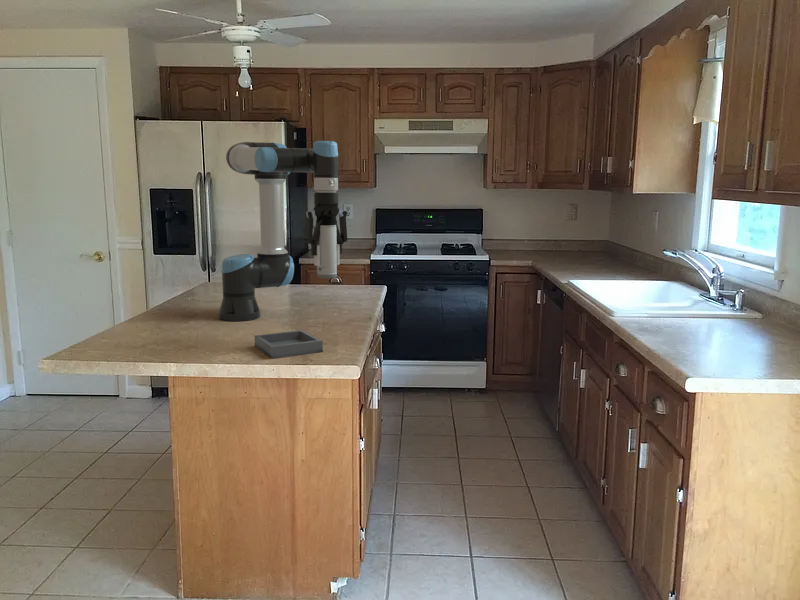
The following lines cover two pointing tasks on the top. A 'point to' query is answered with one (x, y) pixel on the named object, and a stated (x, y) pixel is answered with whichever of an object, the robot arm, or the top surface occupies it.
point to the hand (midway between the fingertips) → (327, 264)
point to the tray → (288, 344)
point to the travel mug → (327, 247)
